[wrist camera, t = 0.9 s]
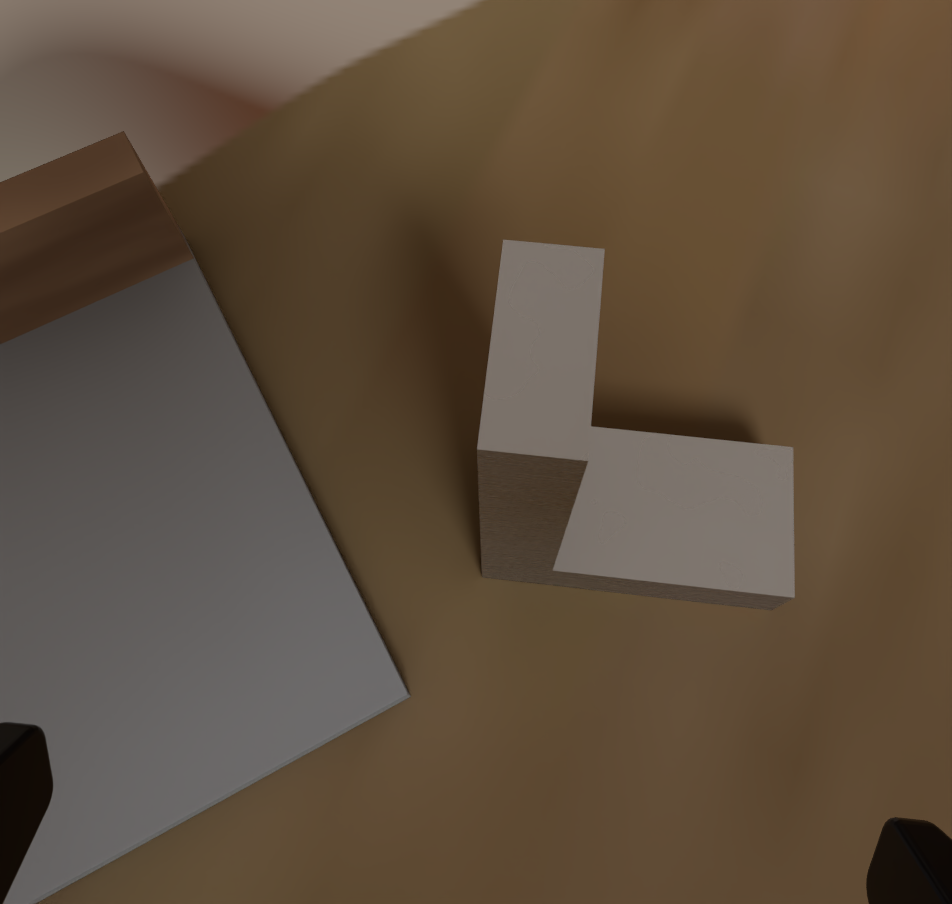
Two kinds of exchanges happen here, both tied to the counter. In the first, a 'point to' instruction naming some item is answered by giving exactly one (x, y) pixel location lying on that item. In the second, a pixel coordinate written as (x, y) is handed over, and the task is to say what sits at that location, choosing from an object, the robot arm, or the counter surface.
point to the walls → (80, 234)
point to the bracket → (612, 464)
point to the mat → (162, 577)
